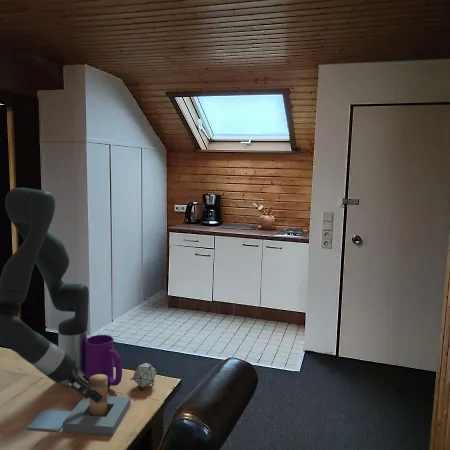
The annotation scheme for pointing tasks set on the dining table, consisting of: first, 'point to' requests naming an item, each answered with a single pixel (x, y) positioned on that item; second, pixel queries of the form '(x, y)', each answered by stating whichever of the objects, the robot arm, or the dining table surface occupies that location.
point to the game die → (144, 375)
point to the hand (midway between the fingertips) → (96, 392)
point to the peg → (100, 386)
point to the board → (97, 417)
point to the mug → (102, 358)
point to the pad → (49, 420)
